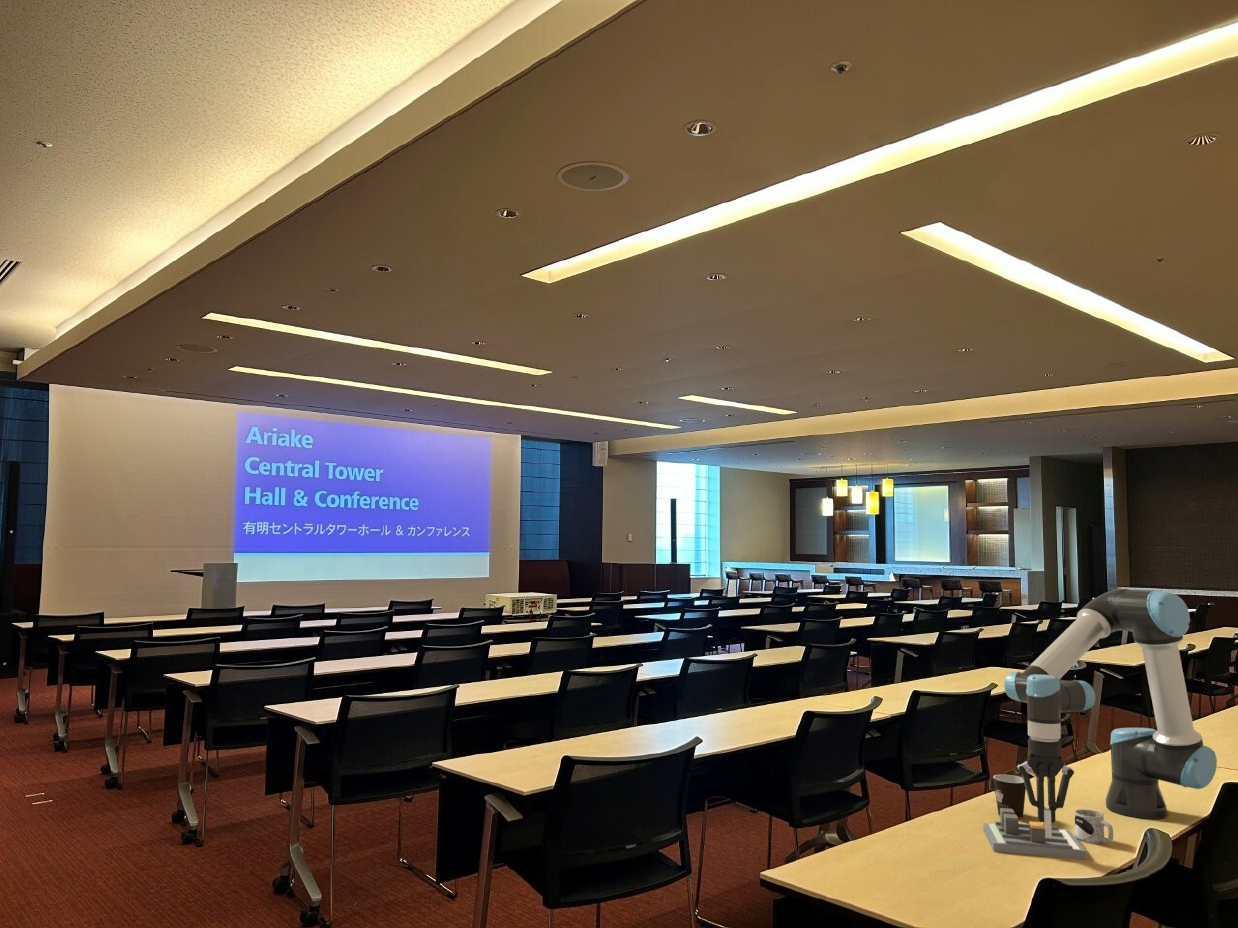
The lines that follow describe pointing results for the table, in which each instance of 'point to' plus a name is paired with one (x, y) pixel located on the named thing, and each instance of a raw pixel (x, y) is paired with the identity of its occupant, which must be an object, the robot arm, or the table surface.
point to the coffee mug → (1009, 793)
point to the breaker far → (1004, 811)
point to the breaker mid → (1011, 824)
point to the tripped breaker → (1037, 832)
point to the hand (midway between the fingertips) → (1047, 835)
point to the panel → (1056, 846)
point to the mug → (1091, 827)
